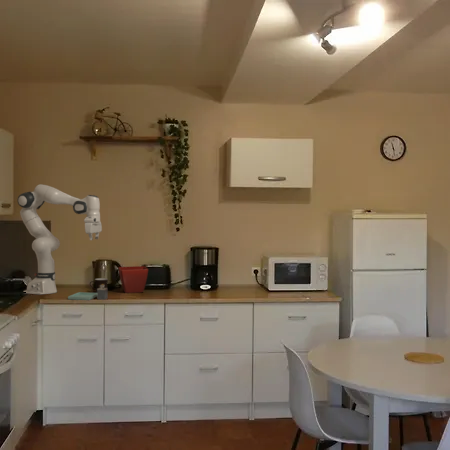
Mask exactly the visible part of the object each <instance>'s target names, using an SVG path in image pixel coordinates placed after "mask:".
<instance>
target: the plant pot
mask: <svg viewBox="0 0 450 450" xmlns="http://www.w3.org/2000/svg"><path fill="white" fill-rule="evenodd" d="M117 268H118V273H119V280H120V283H121V287H122V290H123V292H124V294H128V293H131V294H132V293H136V294H137V293H143V292H144V291H145V288H146V285H147V282H148V281H147V279H148V275H149V274H148V273H149V268H147V267H146V266H145V265H144V266H143V265H142V266H141V265H139V266H136V265H135V266H118V267H117Z"/></svg>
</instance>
